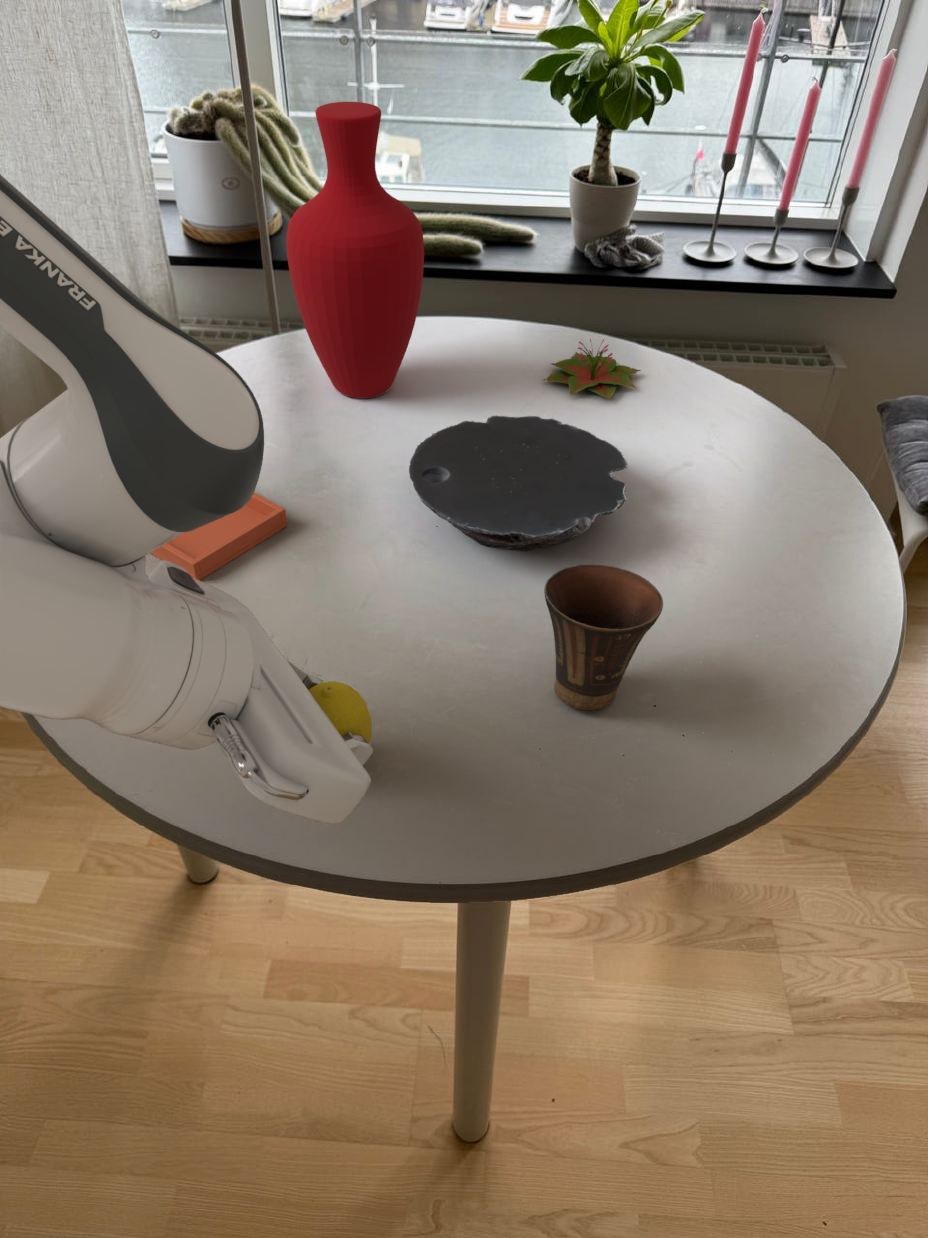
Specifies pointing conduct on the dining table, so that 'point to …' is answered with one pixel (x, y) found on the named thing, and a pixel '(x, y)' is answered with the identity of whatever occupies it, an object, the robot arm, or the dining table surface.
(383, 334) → the vase
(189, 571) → the tray
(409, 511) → the dining table surface
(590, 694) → the cup
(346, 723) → the lemon
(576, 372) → the lily flower
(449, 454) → the board
